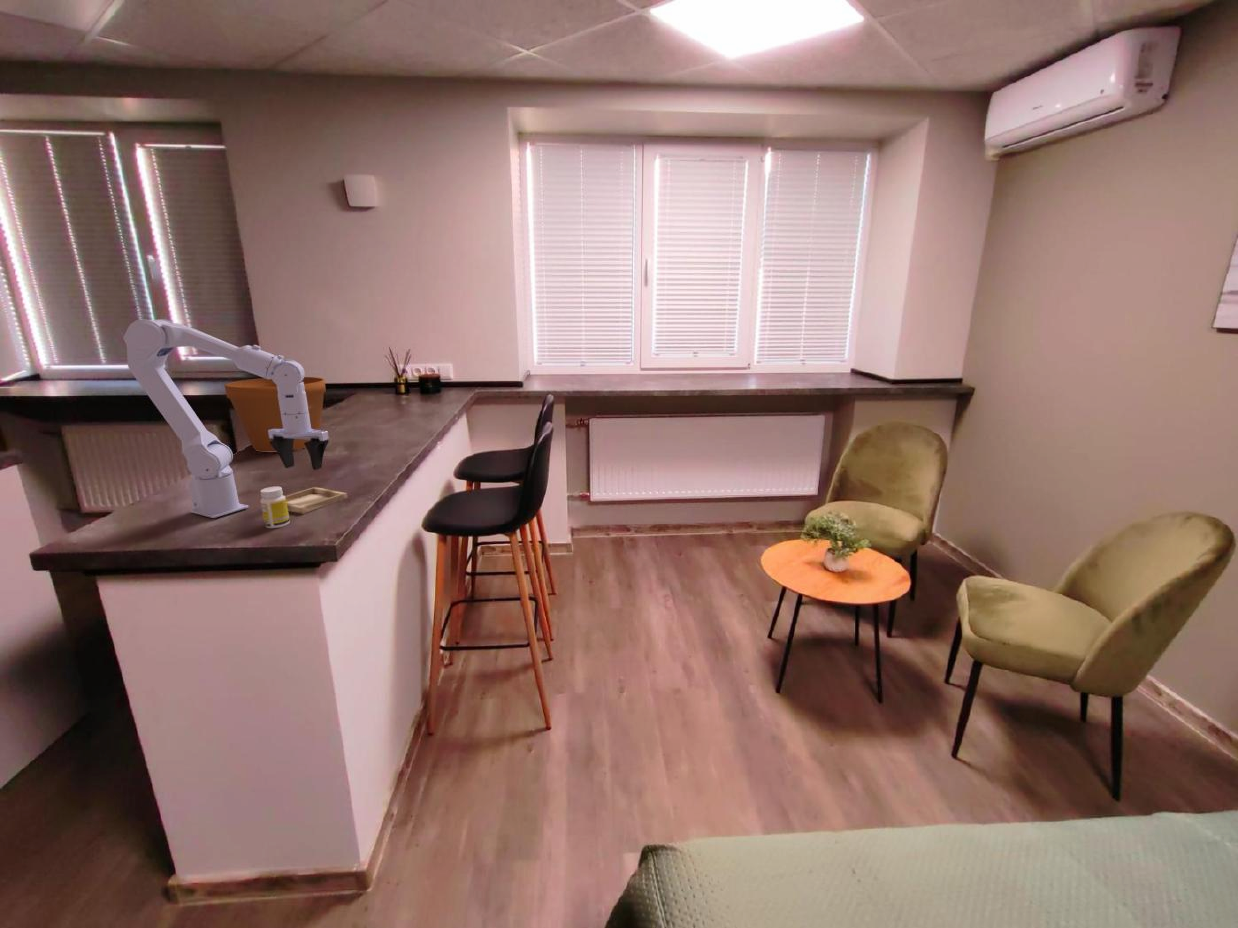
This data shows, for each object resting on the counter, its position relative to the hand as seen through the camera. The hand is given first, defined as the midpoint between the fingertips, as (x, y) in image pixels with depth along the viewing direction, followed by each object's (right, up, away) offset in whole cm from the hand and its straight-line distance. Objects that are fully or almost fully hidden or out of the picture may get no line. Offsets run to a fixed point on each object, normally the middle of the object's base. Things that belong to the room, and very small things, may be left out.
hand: (303, 467), depth 131 cm
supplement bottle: (0, -13, -10) cm, 17 cm away
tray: (0, -9, +3) cm, 9 cm away
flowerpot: (-36, +5, +53) cm, 64 cm away
